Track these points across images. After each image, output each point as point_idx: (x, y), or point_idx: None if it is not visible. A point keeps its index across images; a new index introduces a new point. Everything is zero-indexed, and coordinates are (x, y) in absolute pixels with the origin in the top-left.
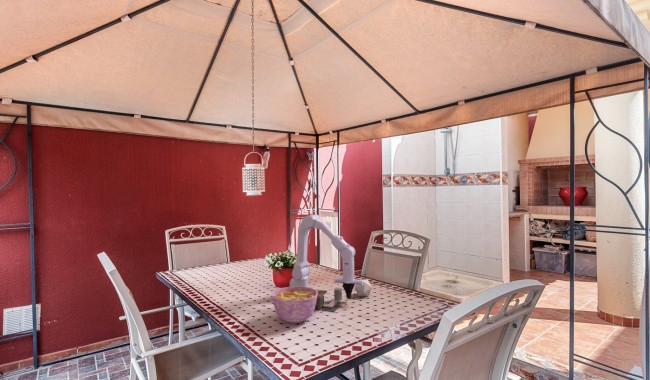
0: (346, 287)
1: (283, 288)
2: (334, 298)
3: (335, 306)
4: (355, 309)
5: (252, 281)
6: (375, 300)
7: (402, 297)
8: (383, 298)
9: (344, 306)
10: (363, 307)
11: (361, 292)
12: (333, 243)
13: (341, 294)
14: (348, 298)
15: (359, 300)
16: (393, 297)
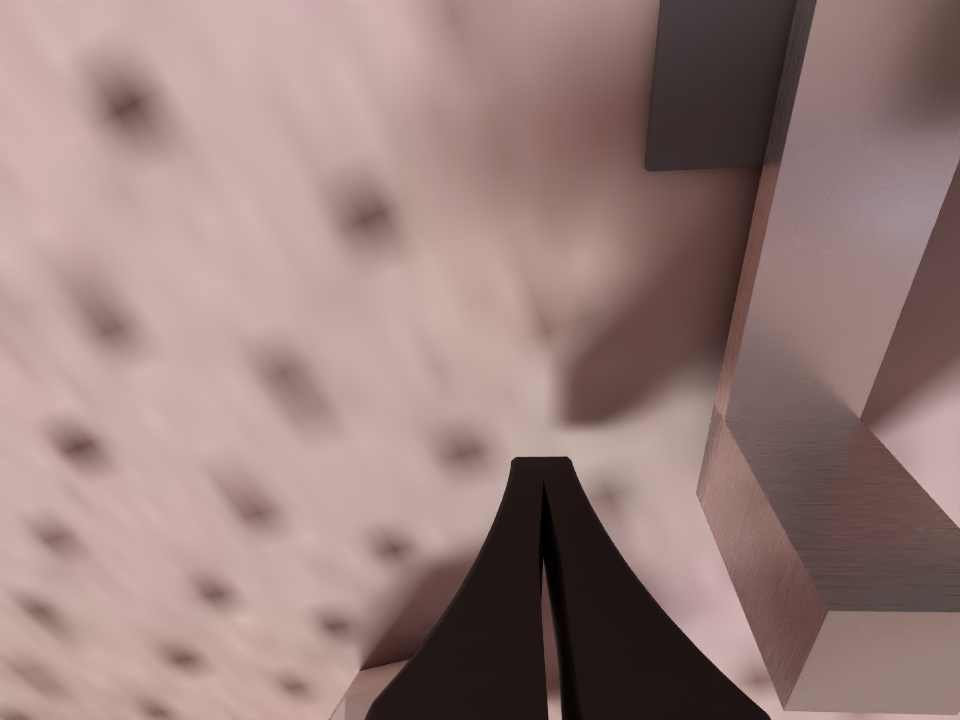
0: (591, 700)
1: None
2: (859, 424)
3: (756, 49)
4: (233, 107)
5: None
6: (201, 589)
7: (16, 712)
8: (161, 656)
9: (541, 192)
10: (166, 287)
11: None
12: None
13: (731, 555)
14: (535, 462)
15: (402, 537)
16: (90, 697)
